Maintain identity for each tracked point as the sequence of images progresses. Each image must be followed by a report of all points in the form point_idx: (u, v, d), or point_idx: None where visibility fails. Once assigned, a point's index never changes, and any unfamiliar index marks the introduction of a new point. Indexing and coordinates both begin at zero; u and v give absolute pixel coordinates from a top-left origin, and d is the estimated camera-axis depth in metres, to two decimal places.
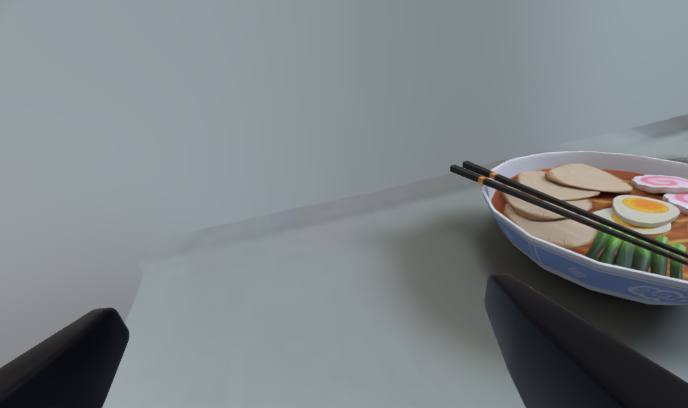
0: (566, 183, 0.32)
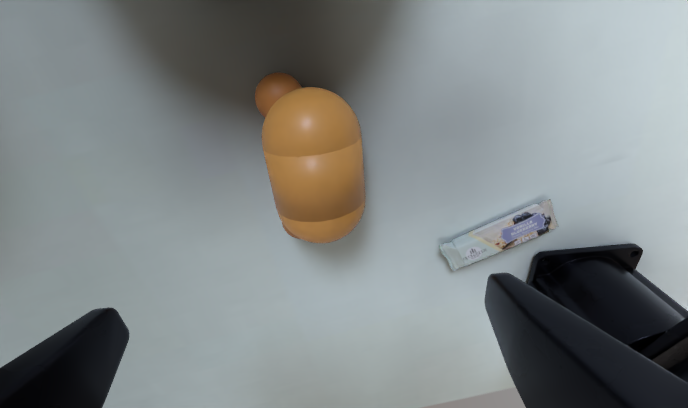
0: None
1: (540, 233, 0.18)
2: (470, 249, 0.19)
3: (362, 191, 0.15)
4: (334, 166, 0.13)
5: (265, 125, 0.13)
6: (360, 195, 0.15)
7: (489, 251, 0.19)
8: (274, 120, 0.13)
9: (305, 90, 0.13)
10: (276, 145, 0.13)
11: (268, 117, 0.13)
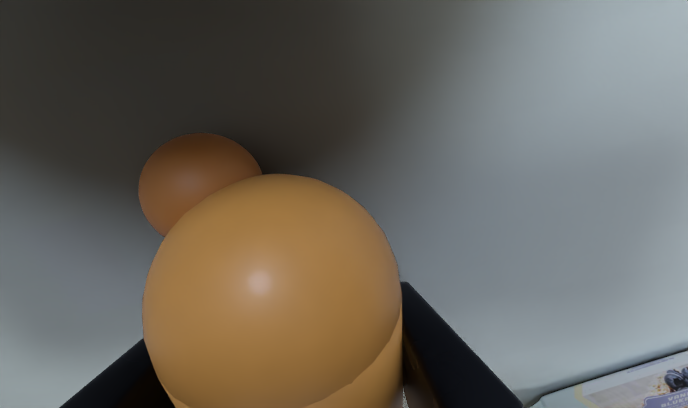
0: None
1: None
2: None
3: (400, 404, 0.06)
4: None
5: (144, 292, 0.05)
6: None
7: None
8: (157, 297, 0.04)
9: (253, 201, 0.04)
10: (163, 370, 0.04)
11: (150, 273, 0.05)
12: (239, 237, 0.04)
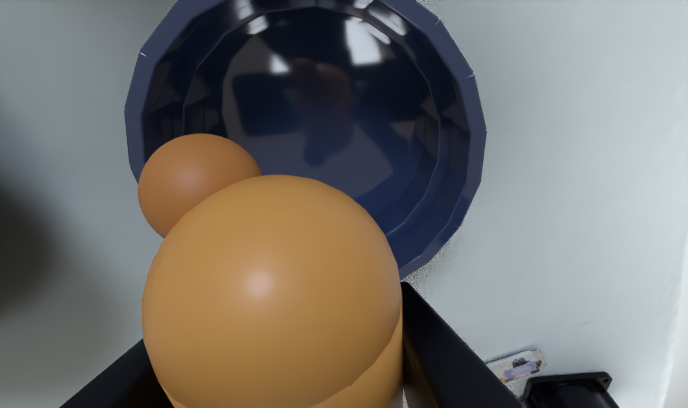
0: None
1: (533, 372, 0.24)
2: None
3: (400, 405, 0.06)
4: None
5: (144, 294, 0.05)
6: None
7: None
8: (156, 299, 0.04)
9: (253, 204, 0.04)
10: (162, 372, 0.04)
11: (150, 275, 0.05)
12: (239, 239, 0.04)
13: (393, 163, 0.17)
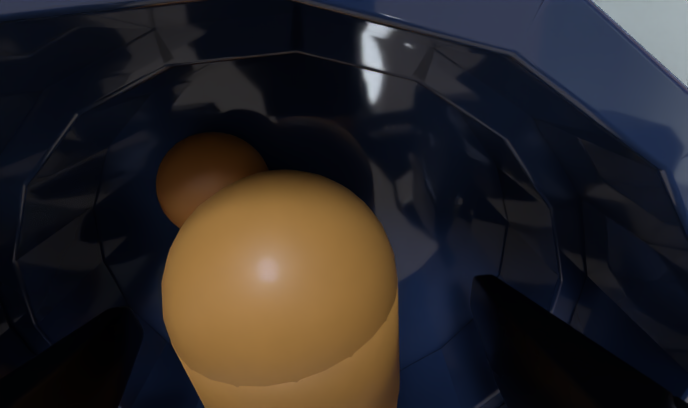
0: None
1: None
2: None
3: (396, 384, 0.07)
4: (336, 391, 0.05)
5: (163, 276, 0.05)
6: (392, 394, 0.07)
7: None
8: (177, 279, 0.05)
9: (262, 194, 0.05)
10: (182, 345, 0.05)
11: (169, 258, 0.05)
12: (251, 225, 0.05)
13: (441, 297, 0.10)
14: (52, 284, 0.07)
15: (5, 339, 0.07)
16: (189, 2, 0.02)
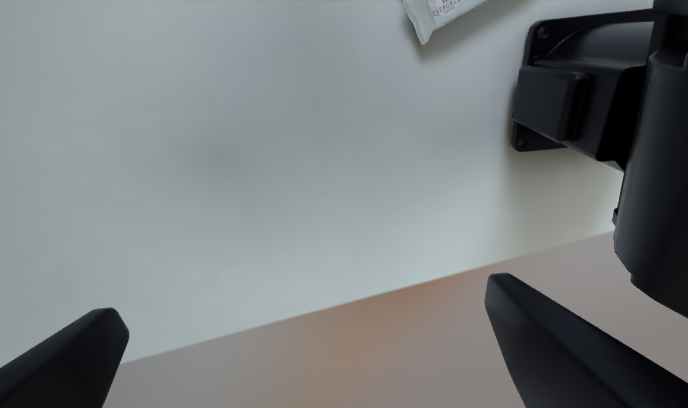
0: None
1: None
2: None
3: None
4: None
5: None
6: None
7: None
8: None
9: None
10: None
11: None
12: None
13: None
14: None
15: None
16: None
